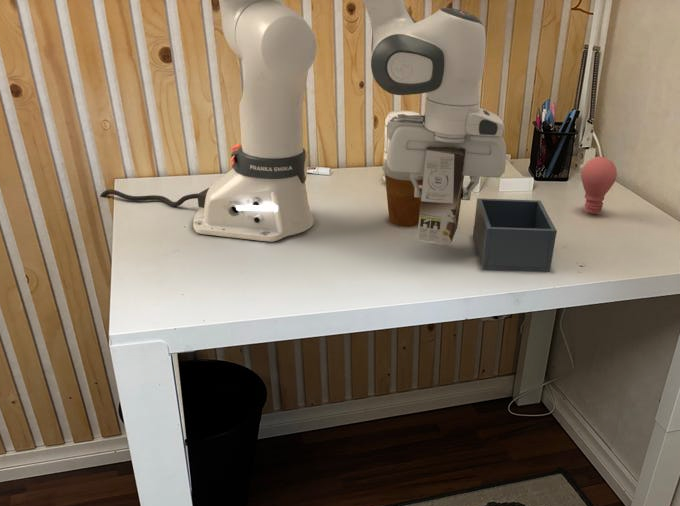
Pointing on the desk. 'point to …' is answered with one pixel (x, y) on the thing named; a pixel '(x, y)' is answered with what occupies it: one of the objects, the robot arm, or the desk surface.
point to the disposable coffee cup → (402, 198)
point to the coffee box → (441, 194)
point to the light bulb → (597, 182)
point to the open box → (513, 235)
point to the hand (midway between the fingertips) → (442, 197)
